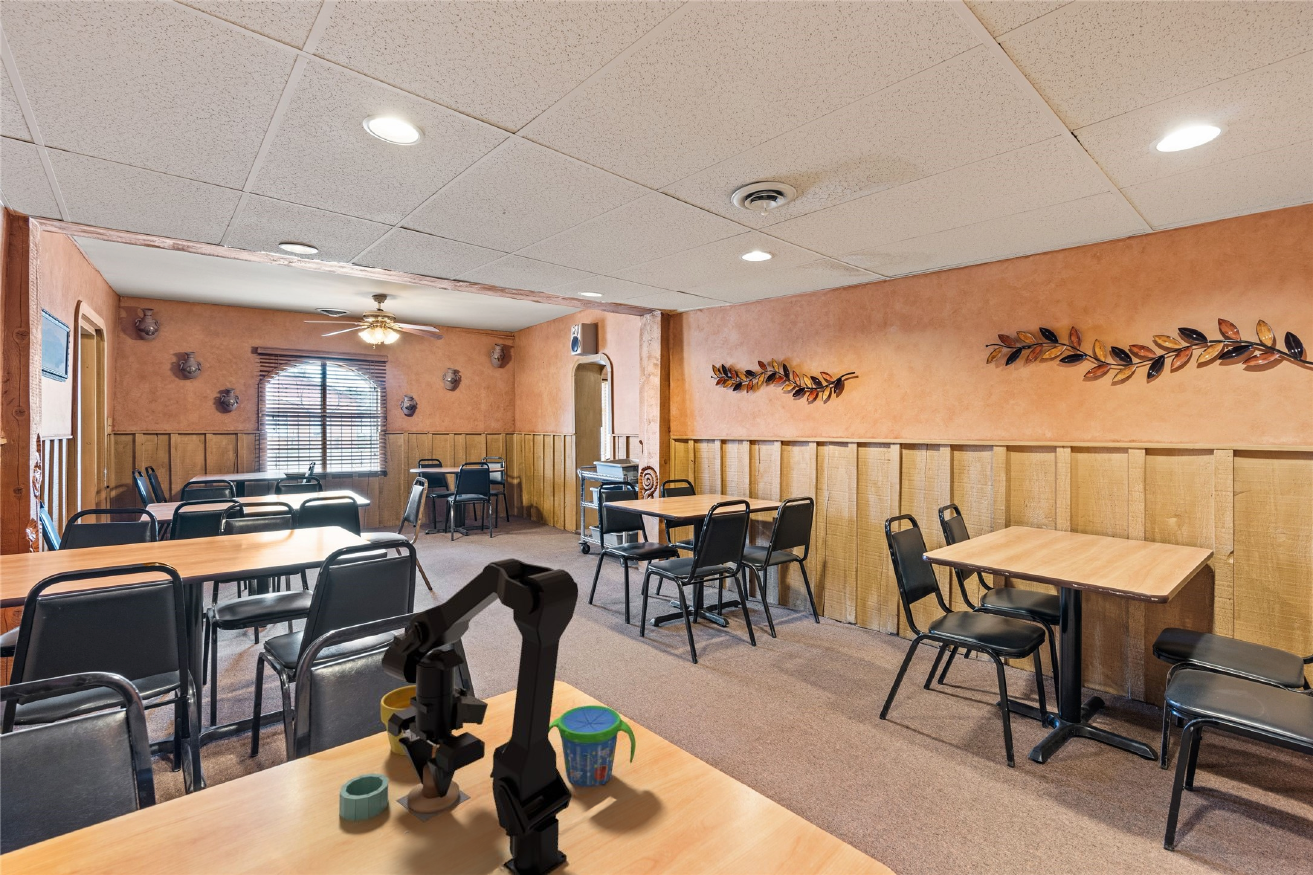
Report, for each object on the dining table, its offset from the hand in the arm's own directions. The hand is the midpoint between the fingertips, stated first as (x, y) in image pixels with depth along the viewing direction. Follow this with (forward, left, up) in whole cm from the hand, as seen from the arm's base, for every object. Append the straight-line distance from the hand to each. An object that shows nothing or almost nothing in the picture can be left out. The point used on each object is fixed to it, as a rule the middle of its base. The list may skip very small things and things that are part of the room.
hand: (433, 789), depth 95 cm
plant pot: (+18, -6, -2) cm, 19 cm away
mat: (0, 0, -2) cm, 2 cm away
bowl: (+6, +8, -2) cm, 10 cm away
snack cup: (-13, -21, -2) cm, 25 cm away
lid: (0, 0, -1) cm, 1 cm away
